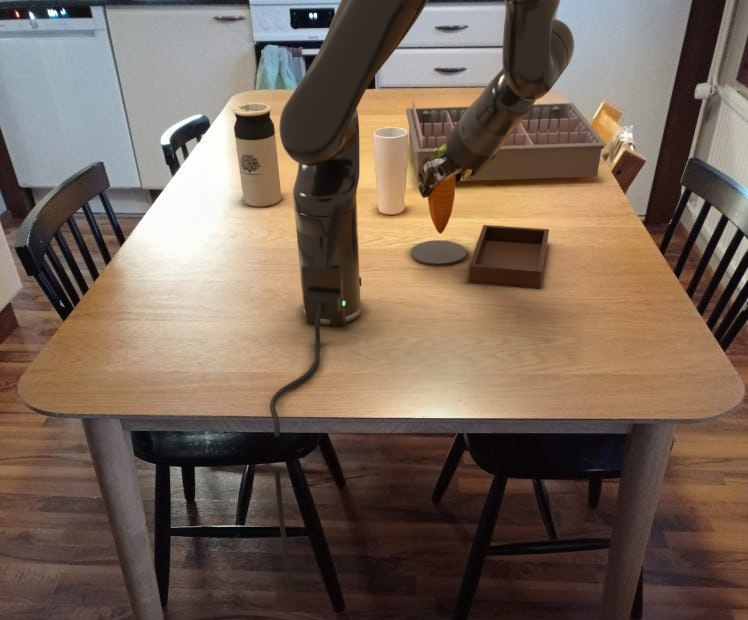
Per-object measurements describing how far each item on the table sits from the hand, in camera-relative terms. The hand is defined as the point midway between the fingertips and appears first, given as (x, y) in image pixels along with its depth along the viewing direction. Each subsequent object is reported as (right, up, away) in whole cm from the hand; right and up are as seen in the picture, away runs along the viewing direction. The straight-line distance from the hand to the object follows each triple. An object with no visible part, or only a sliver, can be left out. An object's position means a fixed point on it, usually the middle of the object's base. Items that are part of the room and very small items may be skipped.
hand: (435, 189), depth 135 cm
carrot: (+1, -7, +4) cm, 8 cm away
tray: (+13, -12, +3) cm, 18 cm away
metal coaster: (+1, -9, +6) cm, 11 cm away
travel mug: (-34, +9, +29) cm, 45 cm away
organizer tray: (+17, +23, +43) cm, 52 cm away
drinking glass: (-7, +4, +23) cm, 24 cm away
